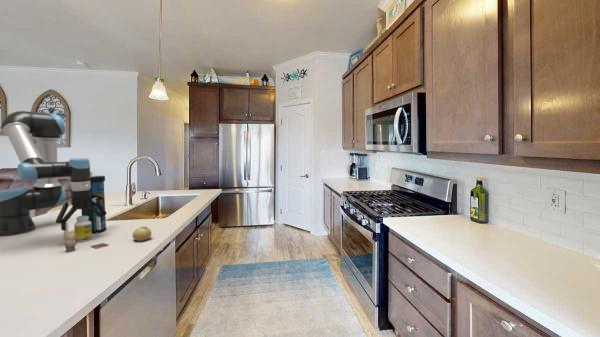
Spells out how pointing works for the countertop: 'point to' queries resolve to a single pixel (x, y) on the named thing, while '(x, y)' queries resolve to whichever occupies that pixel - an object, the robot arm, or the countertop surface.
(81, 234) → the pill bottle
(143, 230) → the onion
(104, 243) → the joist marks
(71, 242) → the tan wooden cylinder
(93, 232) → the advertising column
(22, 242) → the countertop surface
